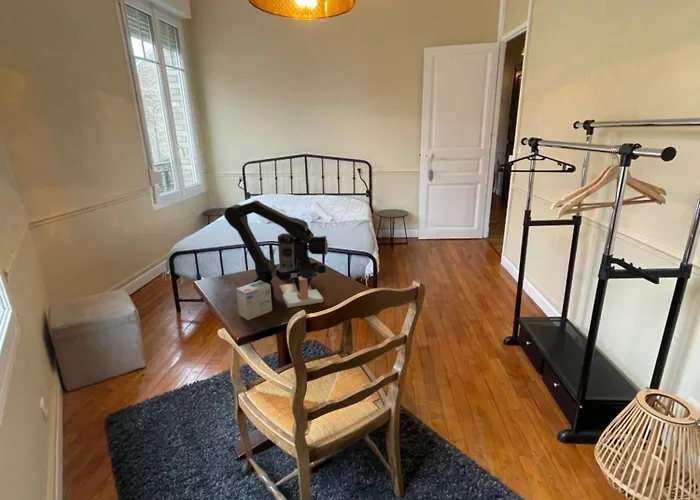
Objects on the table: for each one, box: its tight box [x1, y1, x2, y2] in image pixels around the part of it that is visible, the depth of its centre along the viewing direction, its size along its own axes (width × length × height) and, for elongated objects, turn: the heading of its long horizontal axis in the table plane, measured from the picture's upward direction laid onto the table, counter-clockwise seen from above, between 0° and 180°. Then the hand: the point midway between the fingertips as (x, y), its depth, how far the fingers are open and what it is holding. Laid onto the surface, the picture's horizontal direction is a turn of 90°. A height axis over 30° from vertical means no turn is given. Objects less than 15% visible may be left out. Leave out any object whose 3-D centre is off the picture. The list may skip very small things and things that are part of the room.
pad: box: [279, 283, 314, 295], centre depth 163 cm, size 12×10×1 cm
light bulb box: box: [235, 280, 273, 321], centre depth 140 cm, size 11×7×11 cm, turn 136°
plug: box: [297, 276, 308, 300], centre depth 151 cm, size 3×4×8 cm
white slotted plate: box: [282, 288, 324, 308], centre depth 152 cm, size 14×10×2 cm
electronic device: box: [277, 232, 301, 281], centre depth 173 cm, size 9×6×20 cm, turn 73°
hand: (302, 291), depth 151 cm, fingers closed on plug, 3 cm apart
